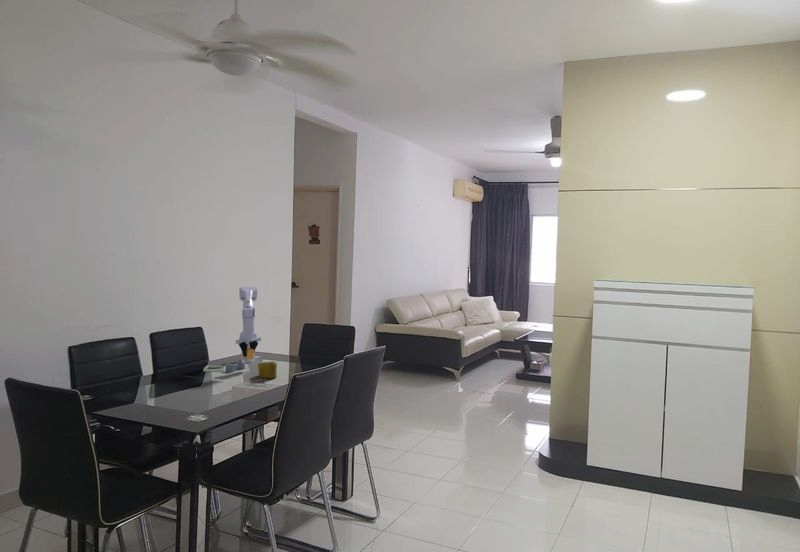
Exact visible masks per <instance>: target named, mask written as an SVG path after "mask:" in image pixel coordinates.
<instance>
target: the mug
mask: <svg viewBox="0 0 800 552" xmlns="http://www.w3.org/2000/svg"><path fill="white" fill-rule="evenodd" d="M257 368H258V370H257V371H258V376H259V378H261V380H264V379H265V380H266V379H267V380H268V379H276V378H277V370H278V362H277V361H263V362H262V361H261V362H258V363H257Z"/></svg>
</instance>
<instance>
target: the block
mask: <svg viewBox="0 0 800 552" xmlns="http://www.w3.org/2000/svg"><path fill="white" fill-rule="evenodd" d="M243 359H247V360H248V359H254V349H251V348H248V349H247V356H246V357H244V356H243Z"/></svg>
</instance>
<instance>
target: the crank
mask: <svg viewBox="0 0 800 552" xmlns="http://www.w3.org/2000/svg"><path fill="white" fill-rule="evenodd" d="M245 369H246V363H245V361H242V359H238V360H237V361H235V363H225V371H224V372H227V373H234V372H235V371H238V370H245Z"/></svg>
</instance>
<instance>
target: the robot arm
mask: <svg viewBox="0 0 800 552" xmlns="http://www.w3.org/2000/svg"><path fill="white" fill-rule="evenodd" d="M257 299H258V287H257V286H240V287H239V301H240V302H242V308H241V317H242V331H241V332H240V333H239V338H238V339H235V344H237V345H238V346H239V348H240V350H241V360H242V361H245V364H246V363H254V362H255V360H256V359H255V356H256V354H255V352H256V349H257V347H258V345H259V342H262V337H261V336H258V334H257V332H256V331H255V318H256V309H255V304H254V302H255V301H257ZM248 348H251V349H254V359H248V360H247V359H243V356H244V357H246V356H247V349H248Z"/></svg>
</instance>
